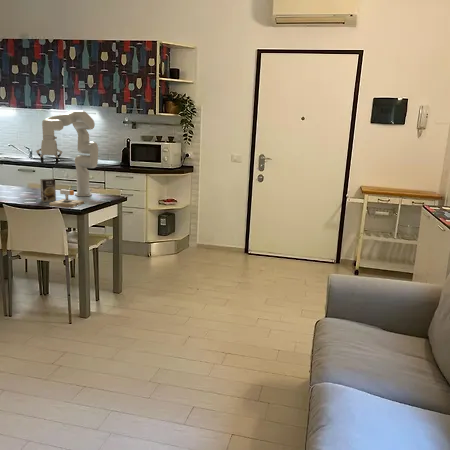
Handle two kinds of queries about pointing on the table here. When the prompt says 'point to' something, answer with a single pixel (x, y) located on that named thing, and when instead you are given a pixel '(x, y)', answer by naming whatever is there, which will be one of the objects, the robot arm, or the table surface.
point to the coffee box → (48, 190)
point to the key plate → (66, 203)
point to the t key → (67, 193)
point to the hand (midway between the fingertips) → (49, 163)
